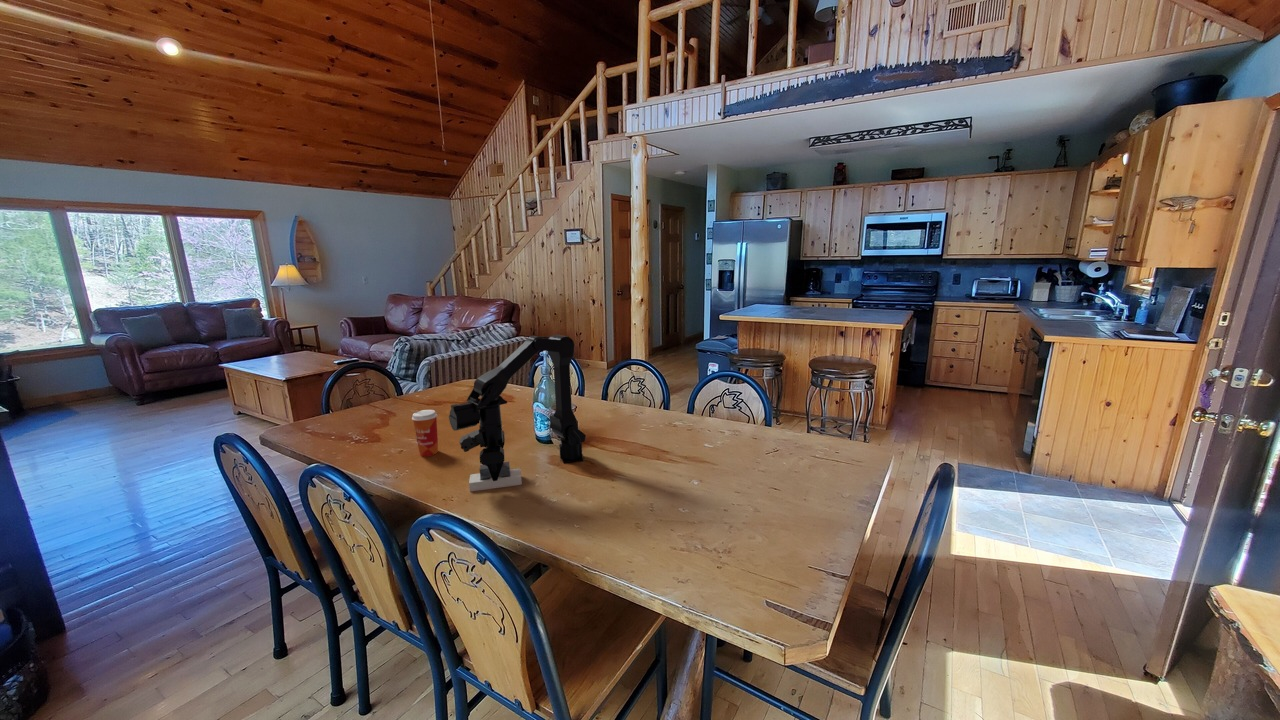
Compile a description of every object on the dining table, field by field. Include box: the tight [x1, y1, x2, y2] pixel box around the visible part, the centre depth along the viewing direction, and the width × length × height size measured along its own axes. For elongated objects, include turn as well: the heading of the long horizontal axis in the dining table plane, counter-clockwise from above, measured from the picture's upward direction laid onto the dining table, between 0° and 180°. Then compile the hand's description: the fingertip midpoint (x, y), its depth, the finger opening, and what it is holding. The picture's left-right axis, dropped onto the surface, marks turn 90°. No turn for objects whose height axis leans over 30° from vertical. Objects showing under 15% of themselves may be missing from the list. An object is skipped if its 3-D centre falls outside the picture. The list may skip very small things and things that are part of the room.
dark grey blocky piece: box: [479, 461, 511, 480], centre depth 138 cm, size 8×3×5 cm, turn 105°
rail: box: [468, 468, 523, 492], centre depth 138 cm, size 14×6×2 cm, turn 105°
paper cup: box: [411, 409, 439, 457], centre depth 160 cm, size 8×8×14 cm
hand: (495, 473), depth 138 cm, fingers open, 9 cm apart
